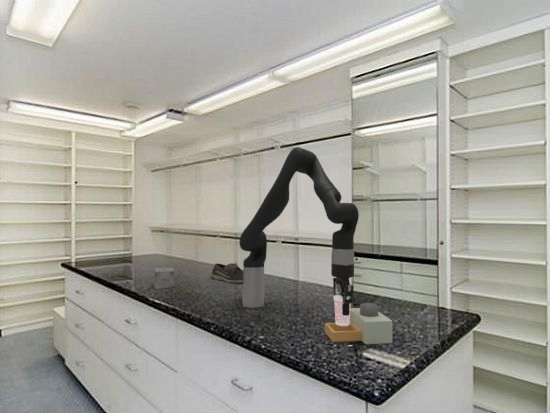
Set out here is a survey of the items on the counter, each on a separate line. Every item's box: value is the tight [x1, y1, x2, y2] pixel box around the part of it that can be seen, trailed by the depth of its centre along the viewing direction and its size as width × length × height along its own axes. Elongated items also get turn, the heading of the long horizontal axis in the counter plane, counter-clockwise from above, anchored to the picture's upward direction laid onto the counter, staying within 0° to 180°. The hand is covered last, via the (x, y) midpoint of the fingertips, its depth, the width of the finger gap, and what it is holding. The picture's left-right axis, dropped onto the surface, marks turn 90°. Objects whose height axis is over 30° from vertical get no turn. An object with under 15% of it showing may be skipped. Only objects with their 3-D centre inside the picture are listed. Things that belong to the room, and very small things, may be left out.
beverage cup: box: [333, 295, 352, 326], centre depth 120 cm, size 6×6×14 cm
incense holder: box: [154, 266, 175, 290], centre depth 193 cm, size 10×8×10 cm
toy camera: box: [324, 302, 393, 345], centre depth 121 cm, size 19×16×10 cm
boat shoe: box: [210, 262, 243, 284], centre depth 213 cm, size 11×29×11 cm, turn 60°
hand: (342, 312), depth 120 cm, fingers closed on beverage cup, 6 cm apart
